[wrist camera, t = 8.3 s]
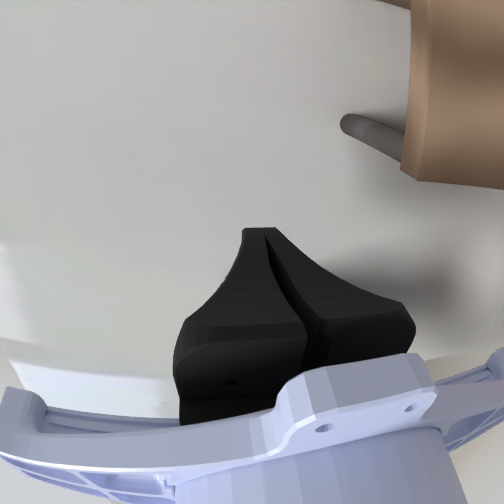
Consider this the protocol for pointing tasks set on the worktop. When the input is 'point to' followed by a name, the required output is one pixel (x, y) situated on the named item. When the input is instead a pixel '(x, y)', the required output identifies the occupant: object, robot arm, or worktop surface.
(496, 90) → the walnut shelf
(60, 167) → the worktop surface
